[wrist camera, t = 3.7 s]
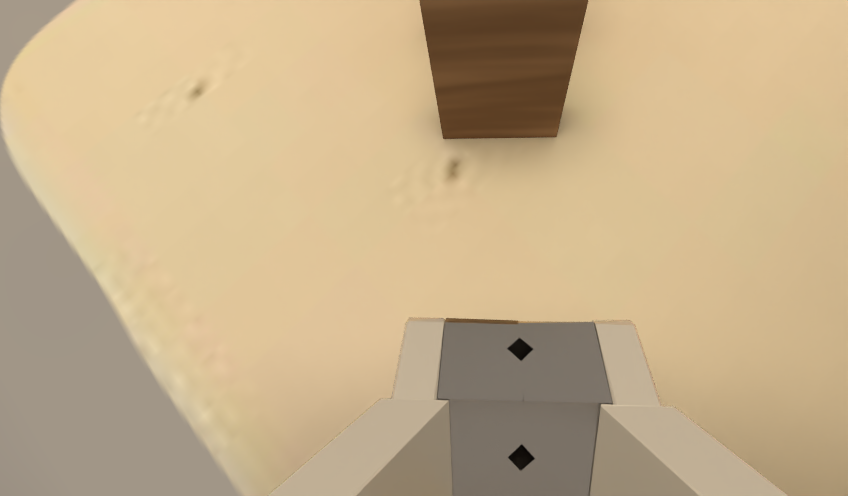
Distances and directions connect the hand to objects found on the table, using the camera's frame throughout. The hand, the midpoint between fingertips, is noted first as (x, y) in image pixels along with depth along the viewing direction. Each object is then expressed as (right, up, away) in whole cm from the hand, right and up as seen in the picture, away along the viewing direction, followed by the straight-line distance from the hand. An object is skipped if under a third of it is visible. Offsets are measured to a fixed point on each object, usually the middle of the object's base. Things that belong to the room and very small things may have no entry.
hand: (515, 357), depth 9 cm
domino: (+2, +7, +20) cm, 21 cm away
